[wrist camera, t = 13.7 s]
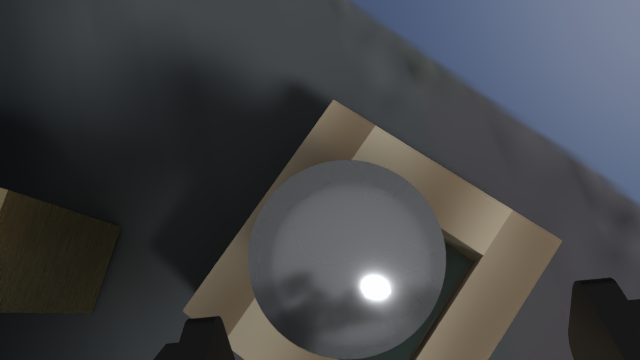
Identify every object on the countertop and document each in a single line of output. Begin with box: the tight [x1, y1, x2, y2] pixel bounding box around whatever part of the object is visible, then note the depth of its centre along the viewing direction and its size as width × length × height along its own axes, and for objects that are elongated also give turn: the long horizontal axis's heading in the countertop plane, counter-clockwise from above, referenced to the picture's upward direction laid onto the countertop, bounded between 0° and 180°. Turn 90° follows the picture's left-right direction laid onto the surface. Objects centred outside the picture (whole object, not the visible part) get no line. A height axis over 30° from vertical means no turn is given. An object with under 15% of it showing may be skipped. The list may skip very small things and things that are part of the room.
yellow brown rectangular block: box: [0, 188, 121, 313], centre depth 22 cm, size 4×4×8 cm
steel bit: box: [248, 160, 446, 359], centre depth 17 cm, size 4×4×12 cm
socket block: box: [183, 100, 562, 360], centre depth 22 cm, size 10×10×4 cm
